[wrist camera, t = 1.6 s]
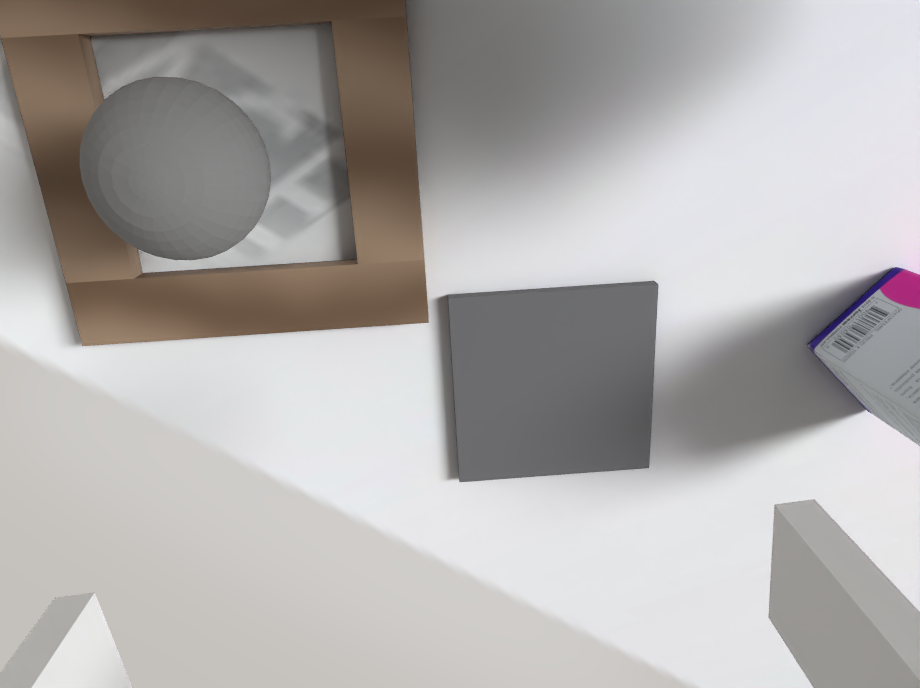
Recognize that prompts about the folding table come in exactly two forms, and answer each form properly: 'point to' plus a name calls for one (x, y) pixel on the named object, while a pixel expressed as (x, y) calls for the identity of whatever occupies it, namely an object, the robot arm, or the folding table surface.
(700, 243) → the folding table surface
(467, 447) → the mat
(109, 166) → the light bulb
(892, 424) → the supplement box
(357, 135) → the wooden picture frame
